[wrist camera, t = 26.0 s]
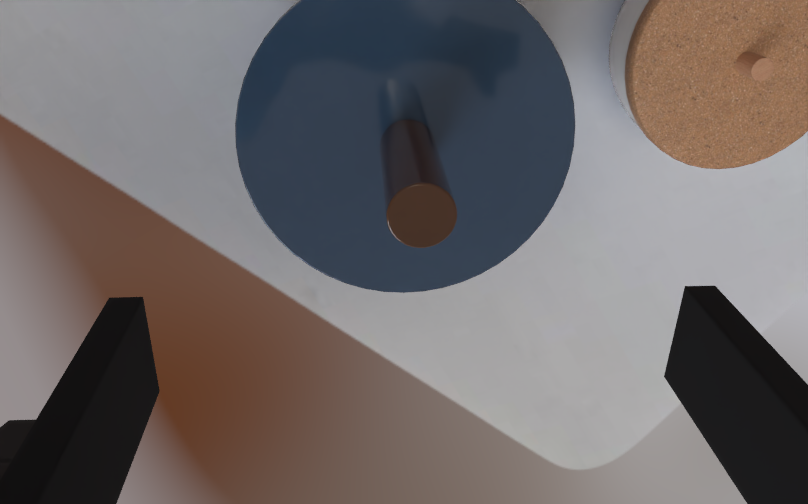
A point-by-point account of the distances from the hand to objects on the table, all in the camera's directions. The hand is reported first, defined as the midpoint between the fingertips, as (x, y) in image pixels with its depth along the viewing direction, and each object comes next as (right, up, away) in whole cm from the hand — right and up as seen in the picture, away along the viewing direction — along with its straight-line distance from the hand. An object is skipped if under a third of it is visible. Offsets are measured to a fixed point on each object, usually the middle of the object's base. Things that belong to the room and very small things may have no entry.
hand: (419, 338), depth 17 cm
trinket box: (+15, +15, +23) cm, 31 cm away
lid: (0, +7, +13) cm, 15 cm away
